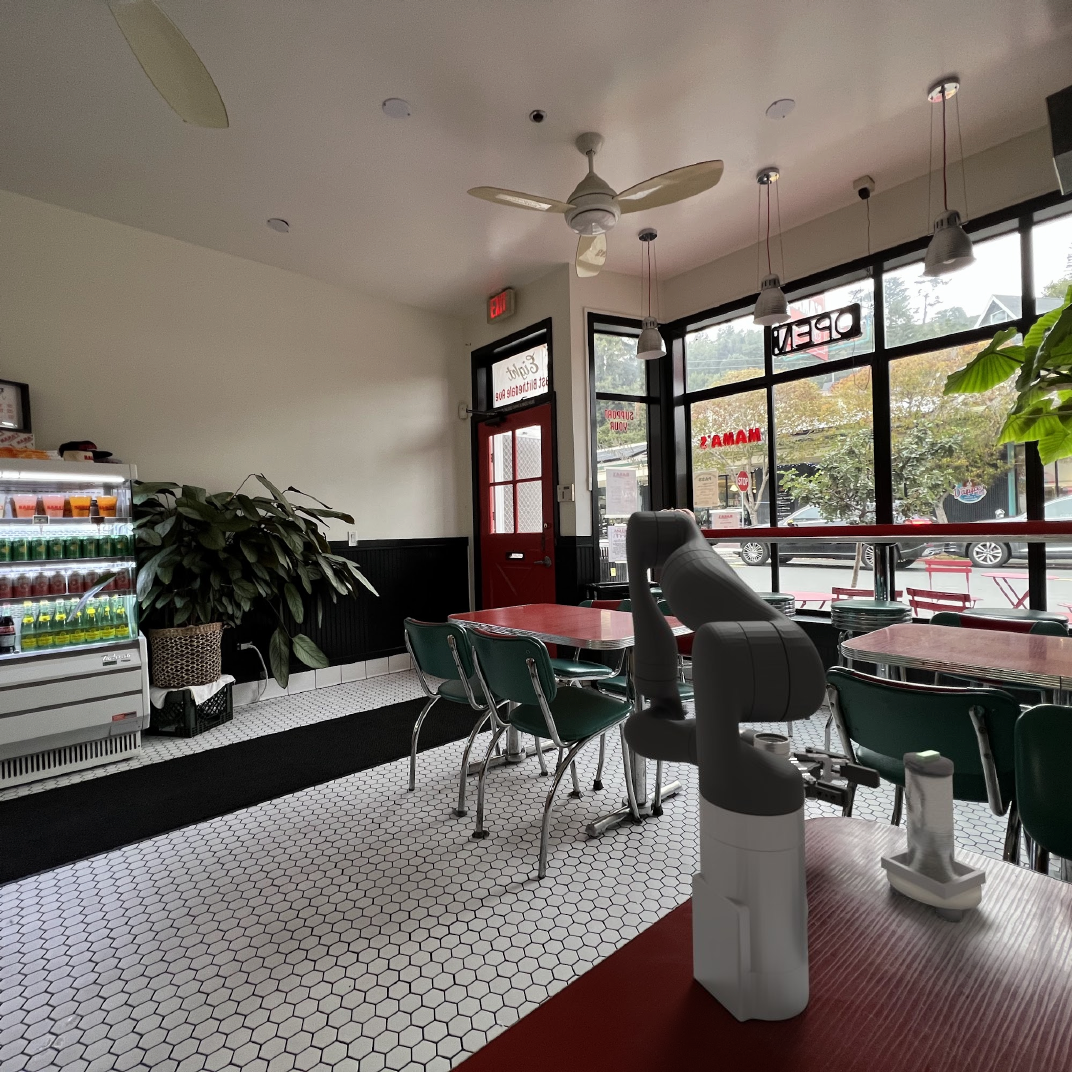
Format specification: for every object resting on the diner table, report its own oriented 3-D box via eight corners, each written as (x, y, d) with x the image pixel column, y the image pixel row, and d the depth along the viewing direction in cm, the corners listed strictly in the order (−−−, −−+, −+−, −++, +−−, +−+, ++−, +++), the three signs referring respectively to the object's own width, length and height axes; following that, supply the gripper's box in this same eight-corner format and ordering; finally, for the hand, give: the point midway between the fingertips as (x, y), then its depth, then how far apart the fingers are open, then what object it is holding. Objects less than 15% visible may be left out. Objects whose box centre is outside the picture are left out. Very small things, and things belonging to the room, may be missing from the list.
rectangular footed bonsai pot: (950, 933, 62) (949, 894, 62) (869, 888, 70) (868, 855, 70) (1000, 909, 66) (999, 873, 66) (918, 870, 74) (917, 838, 74)
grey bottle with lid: (939, 890, 65) (936, 763, 65) (897, 869, 69) (893, 750, 69) (966, 880, 67) (962, 756, 67) (923, 860, 71) (920, 744, 71)
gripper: (716, 739, 81) (838, 773, 69) (770, 719, 91) (886, 745, 78) (717, 795, 81) (840, 838, 69) (771, 769, 90) (888, 803, 78)
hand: (864, 789), depth 73 cm, fingers open, 8 cm apart
